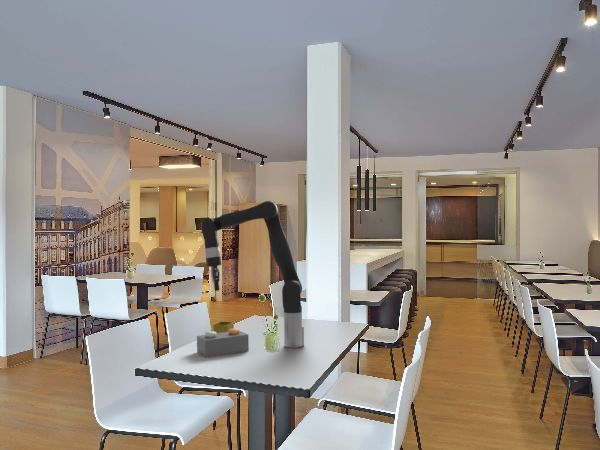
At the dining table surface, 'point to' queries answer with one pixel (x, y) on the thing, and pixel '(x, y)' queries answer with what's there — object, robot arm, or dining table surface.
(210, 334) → the sage button
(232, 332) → the orange button
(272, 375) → the dining table surface
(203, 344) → the block
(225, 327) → the flower pot
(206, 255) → the robot arm
